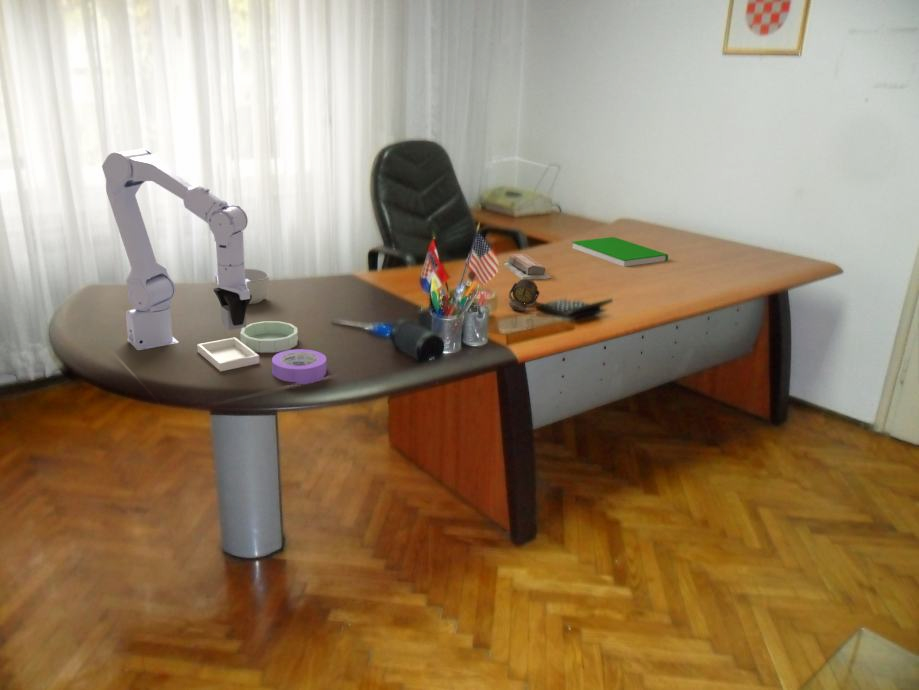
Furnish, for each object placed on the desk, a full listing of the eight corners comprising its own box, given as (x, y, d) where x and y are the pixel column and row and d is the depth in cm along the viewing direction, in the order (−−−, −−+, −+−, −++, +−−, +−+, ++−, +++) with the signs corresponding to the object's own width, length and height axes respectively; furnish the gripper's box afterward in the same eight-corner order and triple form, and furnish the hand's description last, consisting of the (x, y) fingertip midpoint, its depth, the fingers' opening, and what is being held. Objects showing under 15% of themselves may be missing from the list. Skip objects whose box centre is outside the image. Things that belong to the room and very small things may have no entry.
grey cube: (229, 330, 168) (228, 311, 166) (222, 324, 171) (221, 306, 169) (246, 327, 170) (245, 308, 168) (239, 321, 173) (238, 303, 171)
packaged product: (503, 252, 259) (530, 252, 262) (502, 266, 261) (529, 265, 264) (523, 266, 243) (552, 266, 246) (522, 281, 245) (550, 280, 248)
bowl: (256, 358, 173) (255, 344, 172) (232, 340, 182) (232, 327, 181) (307, 347, 181) (307, 334, 179) (282, 331, 190) (282, 318, 189)
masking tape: (288, 360, 173) (288, 345, 172) (335, 369, 171) (335, 353, 169) (262, 380, 163) (261, 363, 162) (311, 389, 160) (311, 372, 159)
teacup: (254, 292, 217) (253, 265, 214) (278, 301, 211) (277, 273, 208) (211, 302, 207) (210, 274, 204) (235, 312, 201) (234, 283, 198)
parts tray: (220, 373, 164) (219, 363, 163) (198, 354, 173) (197, 344, 173) (259, 365, 169) (259, 355, 169) (235, 346, 179) (235, 337, 178)
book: (623, 268, 268) (624, 260, 267) (571, 249, 290) (572, 241, 289) (667, 262, 280) (668, 254, 279) (613, 244, 302) (614, 236, 300)
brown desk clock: (551, 287, 221) (525, 273, 225) (527, 292, 211) (500, 277, 216) (543, 309, 224) (517, 294, 228) (519, 315, 214) (492, 299, 218)
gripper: (262, 268, 162) (264, 328, 167) (235, 253, 173) (238, 309, 178) (230, 272, 158) (233, 333, 163) (204, 256, 168) (208, 314, 173)
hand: (234, 321), depth 170 cm, fingers closed on grey cube, 4 cm apart
